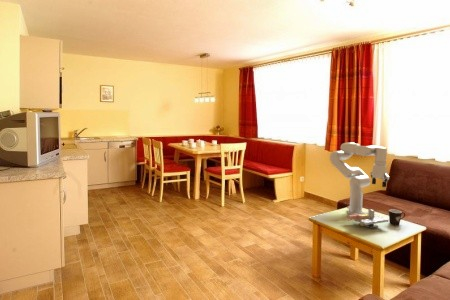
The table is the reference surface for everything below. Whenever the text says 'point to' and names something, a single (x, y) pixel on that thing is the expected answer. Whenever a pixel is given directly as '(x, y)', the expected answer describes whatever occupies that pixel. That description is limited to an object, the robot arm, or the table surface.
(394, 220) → the coffee mug
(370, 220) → the square metal plate
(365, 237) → the table surface
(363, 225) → the yellow block
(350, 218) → the bracket
